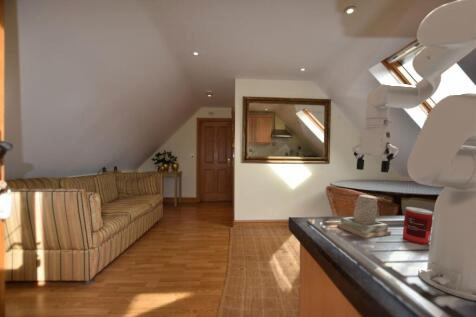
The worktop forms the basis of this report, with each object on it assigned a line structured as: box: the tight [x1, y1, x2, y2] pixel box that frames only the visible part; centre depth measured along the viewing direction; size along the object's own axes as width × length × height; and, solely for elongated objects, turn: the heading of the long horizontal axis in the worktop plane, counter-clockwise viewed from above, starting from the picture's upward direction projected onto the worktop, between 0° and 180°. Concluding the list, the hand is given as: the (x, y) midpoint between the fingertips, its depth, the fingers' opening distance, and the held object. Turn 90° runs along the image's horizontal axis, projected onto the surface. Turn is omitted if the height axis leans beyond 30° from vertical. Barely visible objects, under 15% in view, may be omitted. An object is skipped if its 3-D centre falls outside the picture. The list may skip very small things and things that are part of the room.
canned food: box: [402, 206, 434, 246], centre depth 83 cm, size 8×8×11 cm
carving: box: [353, 194, 378, 225], centre depth 89 cm, size 6×8×12 cm
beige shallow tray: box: [336, 216, 392, 239], centre depth 90 cm, size 14×12×4 cm
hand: (371, 170), depth 88 cm, fingers open, 9 cm apart
